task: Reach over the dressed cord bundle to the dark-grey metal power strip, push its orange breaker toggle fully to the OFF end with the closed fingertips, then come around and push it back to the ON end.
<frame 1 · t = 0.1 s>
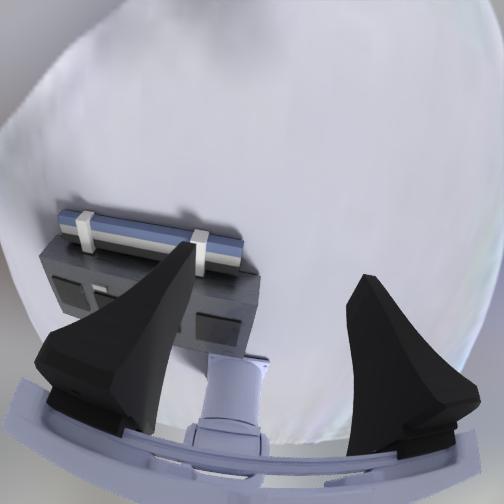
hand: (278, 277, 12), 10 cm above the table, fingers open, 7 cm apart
cords: (142, 236, 24), on the table
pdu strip: (148, 287, 28), on the table
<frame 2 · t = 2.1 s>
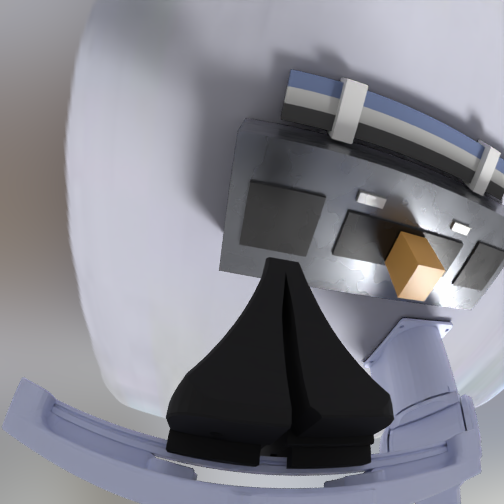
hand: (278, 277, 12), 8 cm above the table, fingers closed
cords: (420, 135, 14), on the table
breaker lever: (413, 266, 14), point 5 cm above the table, slide at 0.0 cm
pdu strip: (388, 218, 18), on the table
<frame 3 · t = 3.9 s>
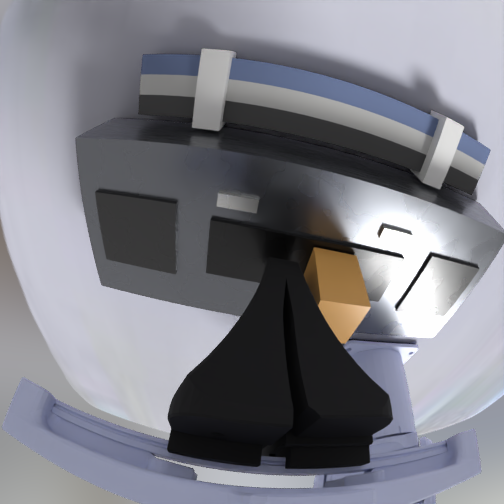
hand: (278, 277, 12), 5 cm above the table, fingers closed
cords: (335, 109, 11), on the table
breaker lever: (330, 295, 11), point 5 cm above the table, slide at -1.0 cm, touching gripper
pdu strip: (302, 222, 15), on the table
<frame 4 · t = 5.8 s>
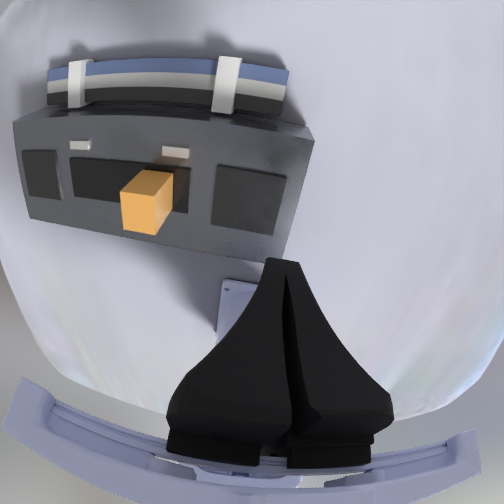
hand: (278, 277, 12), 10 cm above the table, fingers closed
cords: (149, 78, 15), on the table
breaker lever: (148, 200, 15), point 5 cm above the table, slide at -2.5 cm
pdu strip: (146, 163, 19), on the table
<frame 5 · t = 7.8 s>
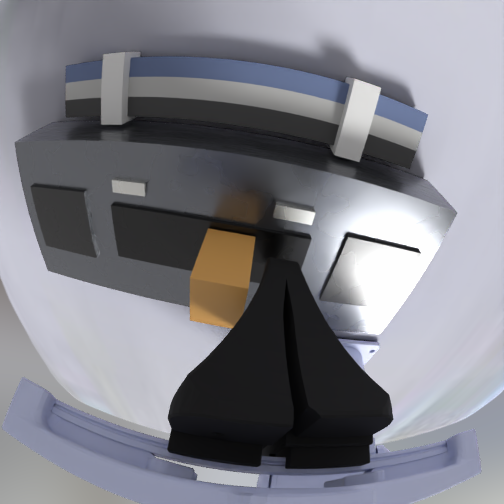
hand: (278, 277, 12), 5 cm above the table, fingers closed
cords: (233, 90, 11), on the table
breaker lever: (223, 278, 11), point 5 cm above the table, slide at -1.2 cm, touching gripper
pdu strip: (218, 207, 15), on the table
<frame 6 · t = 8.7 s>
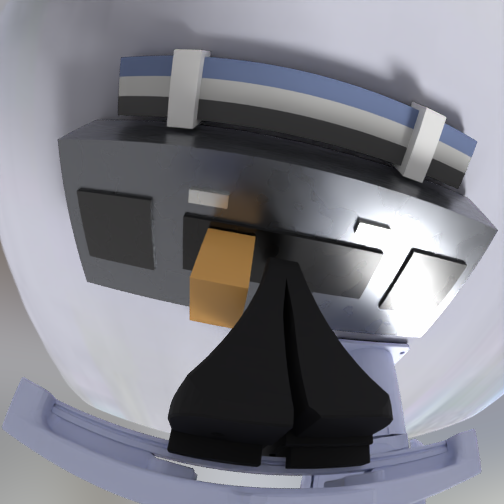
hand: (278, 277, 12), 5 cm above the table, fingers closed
cords: (310, 103, 11), on the table
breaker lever: (222, 277, 11), point 5 cm above the table, slide at 2.4 cm, touching gripper
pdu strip: (281, 219, 15), on the table
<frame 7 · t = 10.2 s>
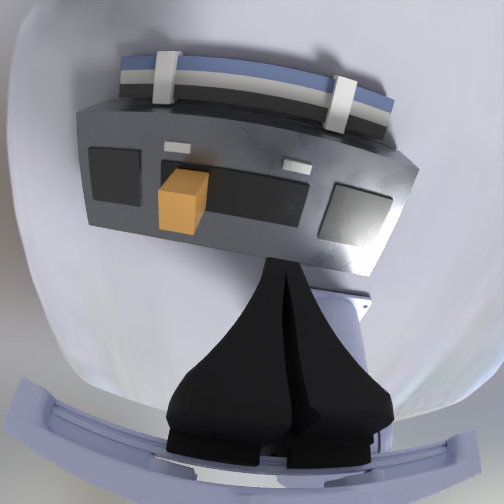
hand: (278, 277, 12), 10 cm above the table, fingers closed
cords: (253, 83, 16), on the table
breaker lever: (184, 199, 15), point 5 cm above the table, slide at 2.4 cm
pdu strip: (238, 171, 20), on the table
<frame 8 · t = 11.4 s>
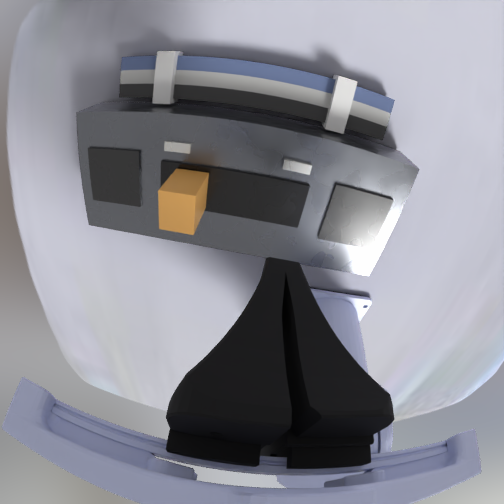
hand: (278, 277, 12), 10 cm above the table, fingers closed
cords: (253, 83, 16), on the table
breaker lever: (184, 199, 15), point 5 cm above the table, slide at 2.4 cm
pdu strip: (238, 171, 20), on the table
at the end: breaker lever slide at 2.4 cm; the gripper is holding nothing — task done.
